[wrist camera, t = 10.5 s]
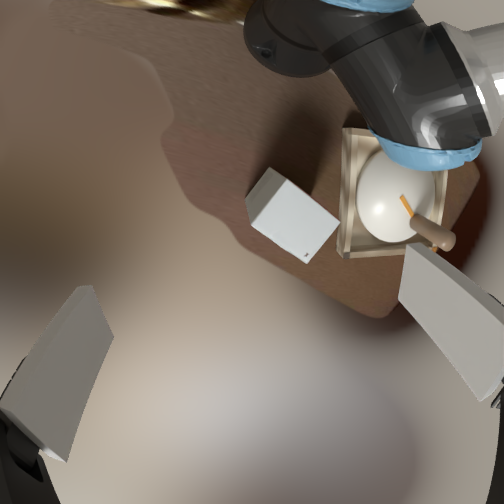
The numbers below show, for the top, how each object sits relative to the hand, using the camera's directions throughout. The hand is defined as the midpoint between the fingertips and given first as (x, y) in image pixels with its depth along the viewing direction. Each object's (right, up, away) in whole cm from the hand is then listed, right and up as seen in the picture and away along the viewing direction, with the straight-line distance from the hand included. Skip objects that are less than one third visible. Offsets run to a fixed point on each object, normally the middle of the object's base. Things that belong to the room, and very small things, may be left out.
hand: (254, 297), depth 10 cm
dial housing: (+24, +12, +31) cm, 41 cm away
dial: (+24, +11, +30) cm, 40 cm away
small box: (+4, +10, +30) cm, 32 cm away
